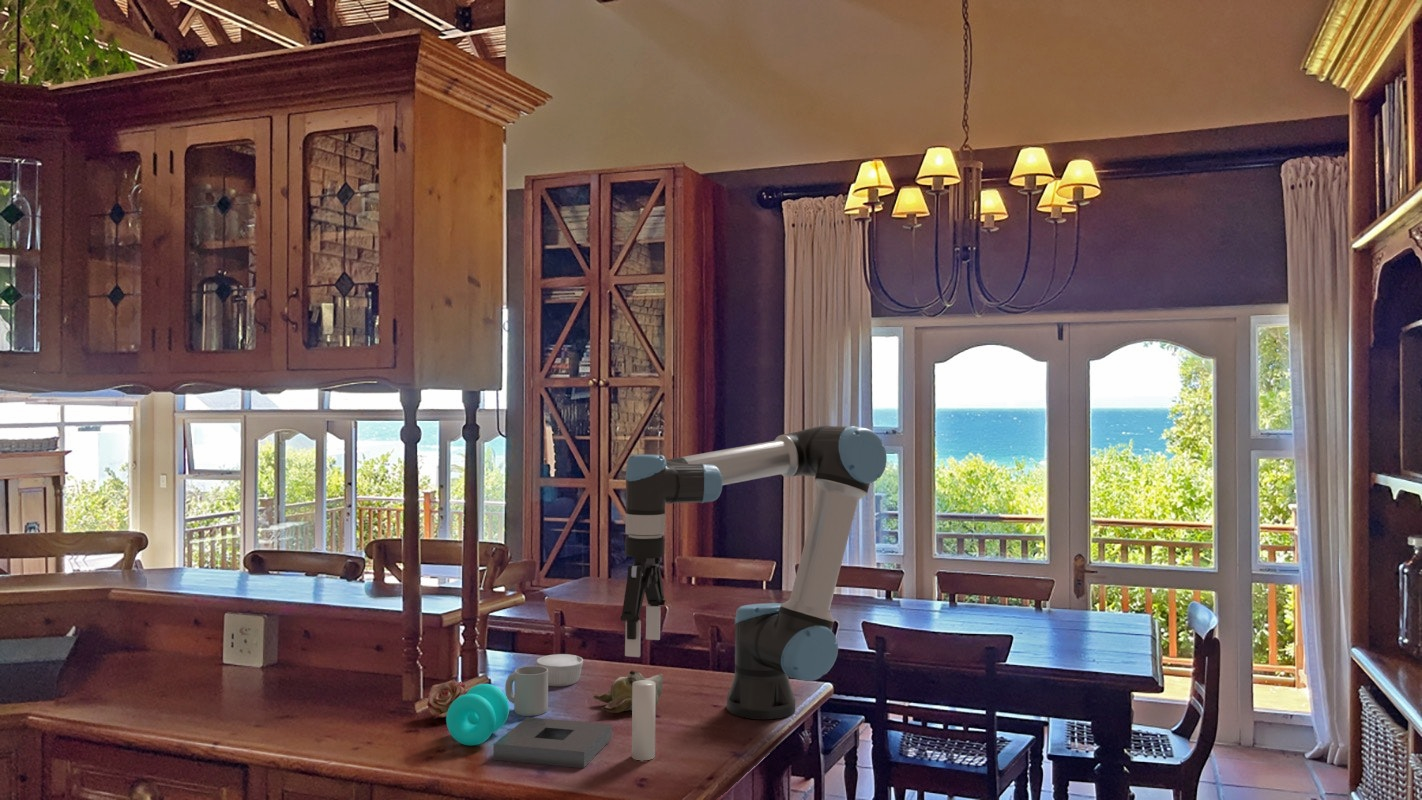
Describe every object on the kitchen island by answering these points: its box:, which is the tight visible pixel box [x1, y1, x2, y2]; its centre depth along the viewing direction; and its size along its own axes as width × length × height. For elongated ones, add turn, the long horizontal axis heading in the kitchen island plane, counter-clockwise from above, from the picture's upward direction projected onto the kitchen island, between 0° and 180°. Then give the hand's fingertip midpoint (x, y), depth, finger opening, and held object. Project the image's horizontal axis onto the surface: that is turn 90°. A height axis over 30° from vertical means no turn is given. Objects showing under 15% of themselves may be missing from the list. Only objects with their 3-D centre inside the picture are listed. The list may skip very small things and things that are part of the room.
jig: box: [492, 716, 613, 769], centre depth 188 cm, size 18×16×3 cm
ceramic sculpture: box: [593, 670, 664, 714], centre depth 213 cm, size 11×9×15 cm
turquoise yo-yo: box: [445, 683, 510, 746], centre depth 193 cm, size 10×10×10 cm
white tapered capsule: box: [631, 680, 656, 762], centre depth 184 cm, size 4×4×14 cm
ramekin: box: [535, 653, 584, 687], centre depth 234 cm, size 11×11×5 cm
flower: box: [426, 678, 467, 720], centre depth 206 cm, size 9×9×7 cm
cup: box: [504, 665, 549, 717], centre depth 211 cm, size 7×10×9 cm
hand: (643, 647), depth 184 cm, fingers open, 13 cm apart
